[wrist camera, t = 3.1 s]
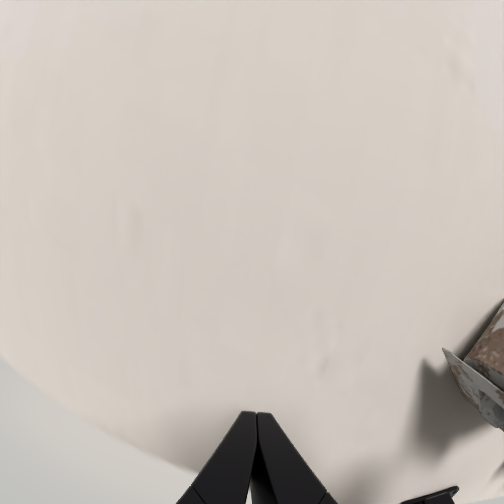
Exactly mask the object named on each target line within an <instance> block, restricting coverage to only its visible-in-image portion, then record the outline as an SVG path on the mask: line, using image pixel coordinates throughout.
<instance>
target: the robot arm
mask: <svg viewBox="0 0 504 504" xmlns="http://www.w3.org/2000/svg"><path fill="white" fill-rule="evenodd" d="M249 485H250V487H251V497H252V504H338V503H337V502H336V501H335V500H334V499H333V497H332V496H331V495H330V493H328V492H327V490H326V488H325V487H324V486H323V485H322V483H321V482H320V481H319V479H318V478H317V477H316V475H315V474H314V473H313V471H312V470H311V469H310V467H309V466H308V465H307V463H306V462H305V461H304V459H303V458H302V457H301V455H300V454H299V452H298V451H297V450H296V448H295V447H294V446H293V444H292V443H291V441H290V440H289V438H288V437H287V436H286V434H285V433H284V431H283V430H282V428H281V427H280V426H279V424H278V423H277V421H276V420H275V418H274V417H273V415H272V414H271V413H265V412H258V413H257V414H256V413H255V412H252V411H242V412H241V413H240V414H239V416H238V418H237V419H236V421H235V422H234V424H233V425H232V427H231V428H230V430H229V431H228V433H227V434H226V436H225V437H224V439H223V440H222V442H221V443H220V444H219V446H218V447H217V449H216V450H215V452H214V453H213V455H212V456H211V458H210V459H209V460H208V462H207V463H206V465H205V466H204V467H203V469H202V470H201V472H200V473H199V474H198V476H197V477H196V479H195V480H194V482H193V483H192V484H191V486H190V487H189V488H188V489H187V490H186V492H185V493H184V494H183V496H182V497H181V498H180V499H179V500H178V502H177V503H176V504H245V503H246V499H247V494H248V489H249ZM458 491H459V487H458V486H455V487H452V488H450V489H447V490H444V491H441V492H438V493H435V494H431V495H428V496H425V497H421V498H418V499H414V500H410V501H407V502H404V503H402V504H455V503H454V501H453V499H452V497H453V496H454V495H455V494H456V493H457V492H458ZM326 492H327V493H326Z"/></svg>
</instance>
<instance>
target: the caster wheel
mask: <svg viewBox="0 0 504 504" xmlns="http://www.w3.org/2000/svg"><path fill="white" fill-rule="evenodd" d="M442 350H443V352H444V354H445V357H446V359H447V361H448V363H449V365H450V367H451V370H452V372H453V374H454V376H455V379H456V381H457V383H458V386H459V388H460V390H461V393H462V395H463V396H464V398H465V399H467V400H468V401H469V402H470V403H471V404H472V405H474V406H475V407H476V408H477V409H478V410H479V411H480V414H481V415H482V416H483V417H484V418H485V419H486V420H487V421H488V422H489V423H490V424H491V425H492V426H494V427H495V428H500V429H501V430H502V431H504V303H503V304H502V306H501V307H500V309H499V311H498V312H497V314H496V315H495V317H494V318H493V320H492V321H491V323H490V324H489V326H488V327H487V329H486V330H485V331H484V333H483V334H482V336H481V337H480V338H479V340H478V341H477V342H476V344H475V345H474V347H473V348H472V349H471V350H470V352H469V353H468V354H467V356H466V357H465V358H464V362H463V361H462V360H460V359H459V358H458V357H456V356H455V355H453V354H452V353H451V352H449V351H448V350H447V349H444V348H442Z"/></svg>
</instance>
